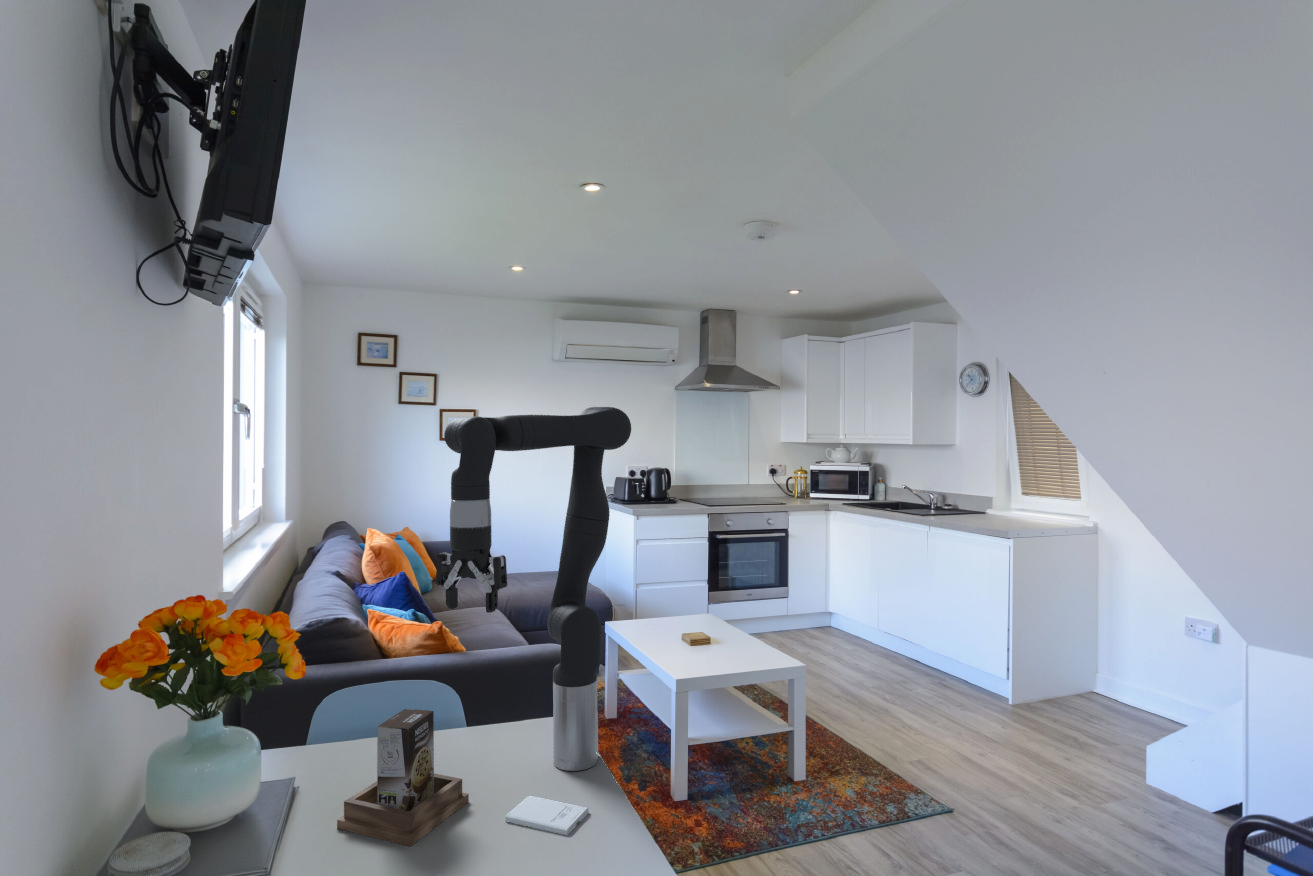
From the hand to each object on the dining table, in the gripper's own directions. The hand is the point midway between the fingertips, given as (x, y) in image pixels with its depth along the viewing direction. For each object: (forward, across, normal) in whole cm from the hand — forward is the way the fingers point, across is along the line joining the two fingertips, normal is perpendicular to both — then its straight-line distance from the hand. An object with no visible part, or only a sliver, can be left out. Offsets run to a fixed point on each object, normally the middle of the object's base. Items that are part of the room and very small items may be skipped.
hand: (471, 610), depth 137 cm
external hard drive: (+37, -16, 0) cm, 40 cm away
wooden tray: (+36, +9, +8) cm, 38 cm away
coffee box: (+35, +9, +8) cm, 37 cm away
